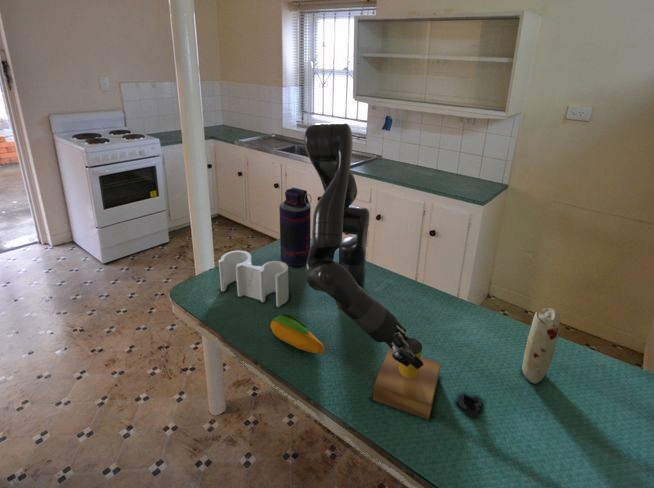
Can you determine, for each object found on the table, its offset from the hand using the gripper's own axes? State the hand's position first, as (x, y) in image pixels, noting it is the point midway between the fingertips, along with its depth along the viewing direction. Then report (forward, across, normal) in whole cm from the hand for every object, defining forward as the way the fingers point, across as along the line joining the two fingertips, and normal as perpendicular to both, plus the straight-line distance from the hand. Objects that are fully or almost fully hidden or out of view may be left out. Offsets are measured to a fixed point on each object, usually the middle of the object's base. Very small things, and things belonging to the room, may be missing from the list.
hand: (417, 357), depth 101 cm
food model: (+31, +4, -17) cm, 36 cm away
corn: (-14, +16, +29) cm, 36 cm away
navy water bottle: (-16, +65, +31) cm, 74 cm away
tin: (+2, 0, +4) cm, 5 cm away
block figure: (+16, -5, -2) cm, 17 cm away
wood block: (+6, 0, +8) cm, 10 cm away
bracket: (-26, +42, +40) cm, 64 cm away
